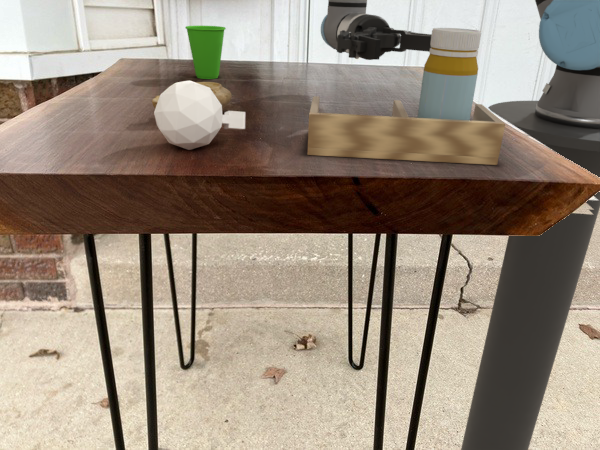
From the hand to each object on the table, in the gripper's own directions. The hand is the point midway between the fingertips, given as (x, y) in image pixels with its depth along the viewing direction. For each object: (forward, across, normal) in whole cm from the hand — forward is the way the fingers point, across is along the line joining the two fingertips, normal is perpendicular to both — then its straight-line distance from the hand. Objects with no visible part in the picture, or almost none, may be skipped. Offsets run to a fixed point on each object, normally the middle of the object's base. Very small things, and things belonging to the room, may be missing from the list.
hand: (420, 49), depth 78 cm
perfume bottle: (+3, +33, -13) cm, 35 cm away
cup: (-54, +25, -12) cm, 61 cm away
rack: (+7, +6, -12) cm, 16 cm away
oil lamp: (-15, +32, -12) cm, 37 cm away
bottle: (+9, 0, -12) cm, 15 cm away
